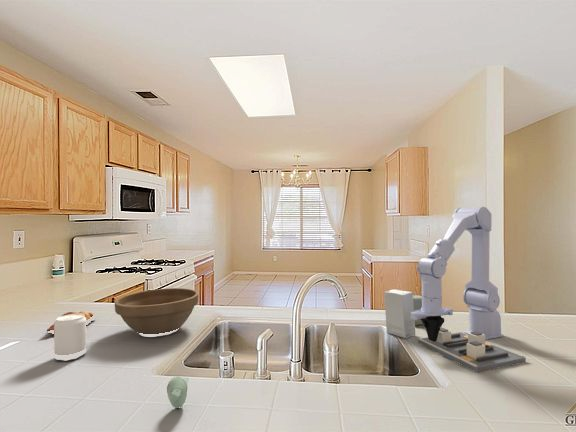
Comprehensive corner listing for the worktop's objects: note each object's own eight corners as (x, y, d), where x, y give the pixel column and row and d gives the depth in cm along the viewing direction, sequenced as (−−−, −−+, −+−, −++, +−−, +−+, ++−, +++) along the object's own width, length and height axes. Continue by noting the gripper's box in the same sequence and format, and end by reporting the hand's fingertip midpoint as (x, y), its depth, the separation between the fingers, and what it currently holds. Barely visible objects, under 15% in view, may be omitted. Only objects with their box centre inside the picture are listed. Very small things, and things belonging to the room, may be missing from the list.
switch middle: (476, 343, 103) (476, 330, 103) (485, 346, 100) (484, 333, 100) (467, 344, 102) (467, 331, 102) (476, 348, 99) (476, 335, 99)
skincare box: (415, 335, 114) (415, 292, 114) (404, 339, 110) (403, 294, 111) (395, 328, 121) (395, 288, 121) (384, 332, 117) (383, 290, 118)
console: (460, 335, 113) (460, 329, 113) (525, 361, 92) (525, 354, 92) (417, 342, 107) (417, 336, 107) (476, 372, 86) (476, 364, 86)
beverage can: (92, 354, 101) (92, 314, 102) (65, 364, 94) (65, 322, 94) (75, 349, 105) (75, 312, 105) (48, 359, 98) (48, 319, 98)
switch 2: (476, 353, 95) (475, 340, 95) (485, 357, 92) (485, 343, 92) (466, 355, 94) (466, 341, 94) (475, 359, 91) (475, 345, 91)
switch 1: (443, 339, 106) (443, 327, 106) (451, 342, 103) (451, 330, 103) (435, 340, 105) (435, 328, 105) (442, 344, 102) (442, 331, 102)
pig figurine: (181, 419, 68) (181, 386, 68) (161, 420, 67) (161, 386, 68) (191, 398, 76) (191, 368, 76) (173, 398, 75) (173, 369, 75)
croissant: (90, 328, 137) (82, 310, 138) (108, 317, 135) (101, 300, 136) (42, 346, 116) (33, 325, 118) (63, 334, 115) (54, 313, 116)
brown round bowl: (95, 341, 112) (95, 302, 113) (153, 317, 139) (153, 285, 140) (164, 350, 104) (164, 308, 104) (213, 322, 131) (212, 289, 131)
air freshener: (401, 324, 126) (400, 298, 126) (402, 318, 134) (402, 293, 134) (432, 327, 122) (431, 300, 122) (432, 321, 129) (431, 295, 130)
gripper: (440, 291, 109) (441, 333, 109) (403, 295, 104) (404, 338, 104) (457, 296, 102) (458, 340, 102) (419, 300, 98) (420, 347, 98)
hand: (432, 340), depth 103 cm, fingers closed
